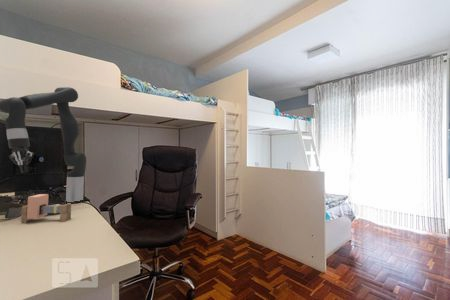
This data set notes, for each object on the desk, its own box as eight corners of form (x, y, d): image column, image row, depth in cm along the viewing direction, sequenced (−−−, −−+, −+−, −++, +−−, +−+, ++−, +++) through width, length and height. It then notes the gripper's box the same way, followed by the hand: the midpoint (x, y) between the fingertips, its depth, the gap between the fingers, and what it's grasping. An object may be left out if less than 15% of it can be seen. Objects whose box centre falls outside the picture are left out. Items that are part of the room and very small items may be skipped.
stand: (29, 219, 100) (30, 204, 100) (70, 218, 103) (71, 203, 103) (21, 223, 95) (21, 206, 95) (64, 221, 98) (65, 205, 98)
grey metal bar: (30, 212, 99) (31, 205, 100) (67, 211, 102) (68, 204, 102) (25, 214, 96) (25, 206, 96) (63, 213, 99) (63, 206, 99)
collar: (38, 215, 102) (39, 194, 102) (47, 214, 102) (48, 194, 103) (26, 219, 94) (27, 197, 95) (36, 219, 95) (37, 196, 96)
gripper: (37, 136, 106) (43, 169, 107) (16, 139, 109) (22, 172, 109) (20, 136, 99) (27, 172, 100) (-2, 140, 101) (5, 175, 102)
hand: (24, 172), depth 105 cm, fingers closed
